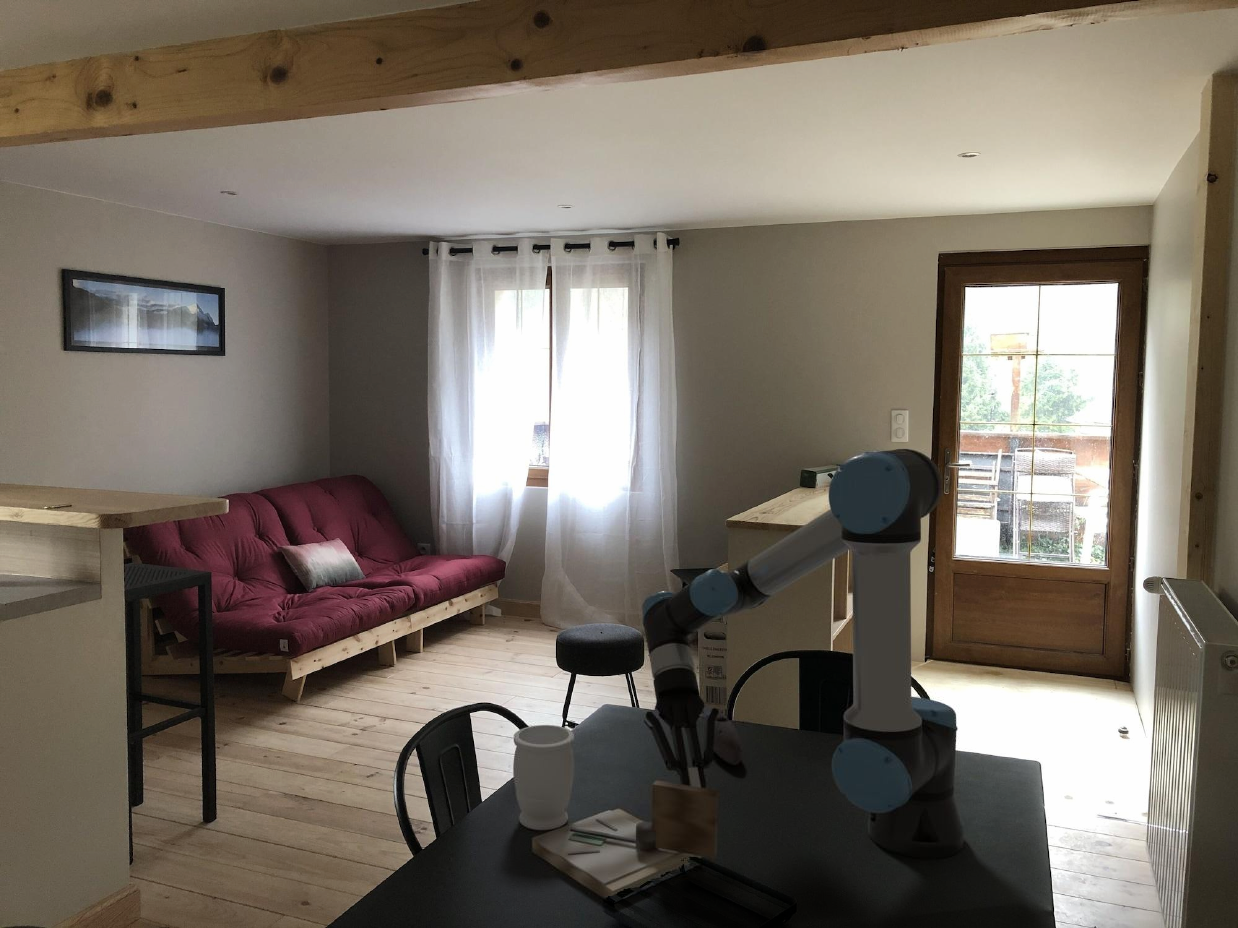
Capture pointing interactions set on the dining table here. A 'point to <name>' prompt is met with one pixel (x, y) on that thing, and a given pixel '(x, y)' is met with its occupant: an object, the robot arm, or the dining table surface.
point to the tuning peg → (676, 821)
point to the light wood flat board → (606, 854)
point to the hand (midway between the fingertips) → (698, 810)
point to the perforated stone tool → (726, 740)
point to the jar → (543, 775)
